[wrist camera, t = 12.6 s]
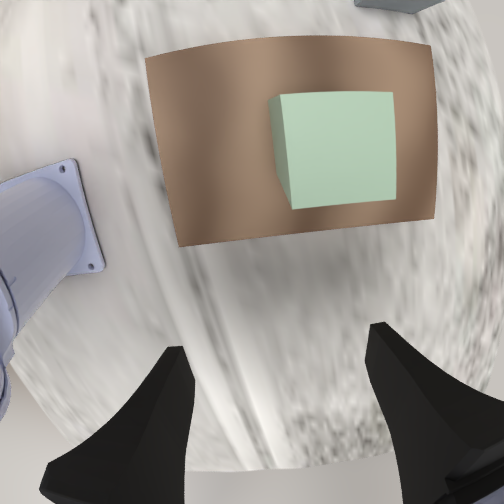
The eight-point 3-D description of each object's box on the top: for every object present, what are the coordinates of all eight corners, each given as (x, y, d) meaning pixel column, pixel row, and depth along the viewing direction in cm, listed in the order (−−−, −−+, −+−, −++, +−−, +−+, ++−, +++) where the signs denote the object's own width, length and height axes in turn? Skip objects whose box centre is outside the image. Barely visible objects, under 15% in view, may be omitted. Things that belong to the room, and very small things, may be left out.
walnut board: (183, 236, 19) (179, 247, 18) (152, 61, 15) (144, 58, 13) (423, 211, 19) (433, 218, 17) (418, 48, 14) (430, 45, 13)
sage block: (276, 173, 16) (292, 209, 11) (267, 99, 14) (280, 94, 9) (348, 167, 16) (396, 199, 11) (343, 95, 14) (392, 92, 9)
